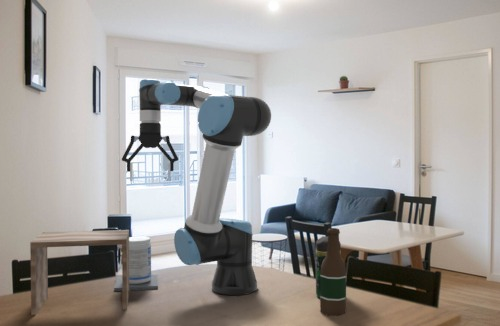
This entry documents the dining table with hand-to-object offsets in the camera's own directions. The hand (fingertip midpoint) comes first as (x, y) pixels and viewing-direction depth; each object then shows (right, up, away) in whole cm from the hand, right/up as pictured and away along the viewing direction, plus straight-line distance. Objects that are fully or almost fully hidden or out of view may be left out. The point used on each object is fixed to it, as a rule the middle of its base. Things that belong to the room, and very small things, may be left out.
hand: (150, 180), depth 179 cm
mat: (-2, -35, -11) cm, 37 cm away
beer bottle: (+60, -37, -39) cm, 81 cm away
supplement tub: (-2, -34, -11) cm, 36 cm away
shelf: (-14, -36, -32) cm, 50 cm away
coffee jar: (+61, -36, -23) cm, 75 cm away
